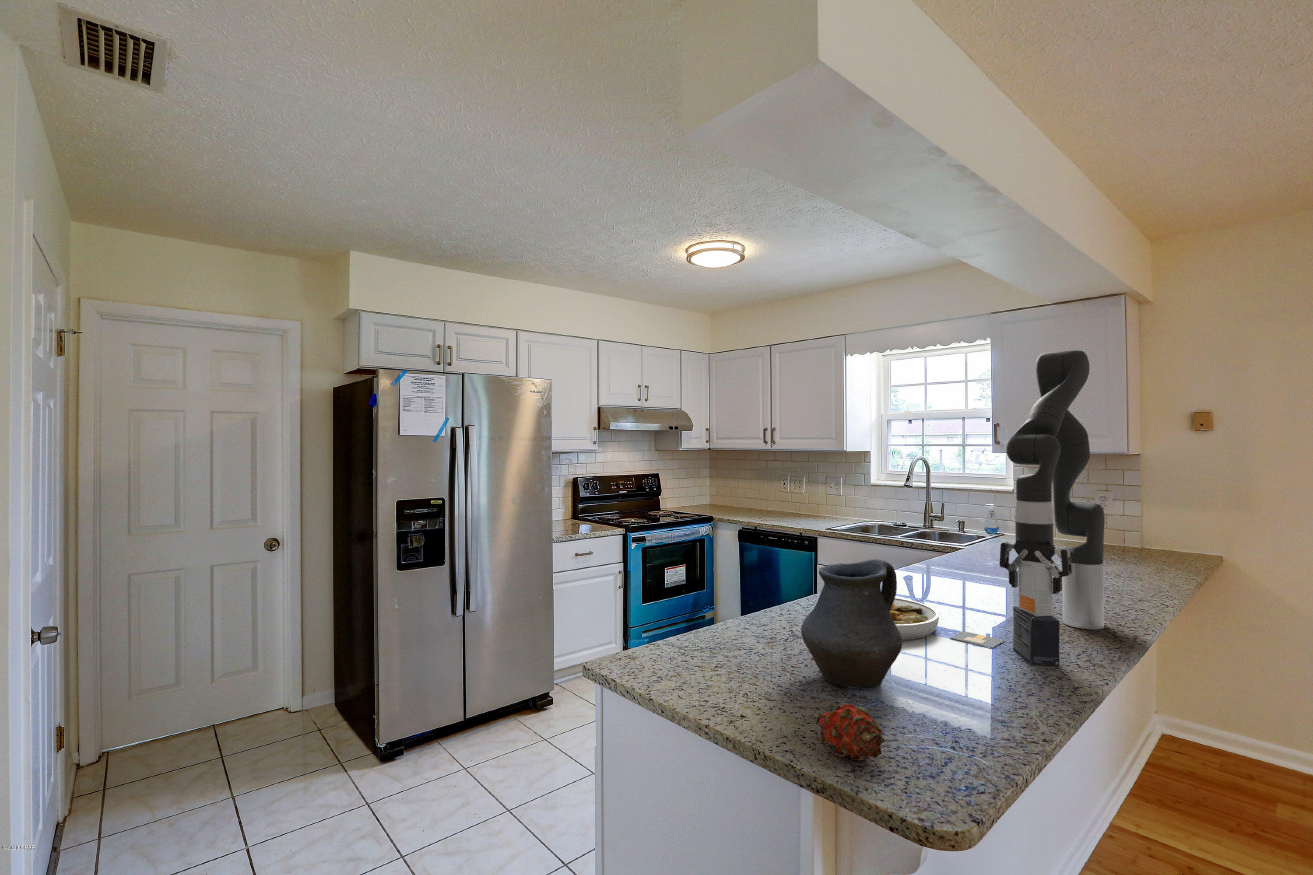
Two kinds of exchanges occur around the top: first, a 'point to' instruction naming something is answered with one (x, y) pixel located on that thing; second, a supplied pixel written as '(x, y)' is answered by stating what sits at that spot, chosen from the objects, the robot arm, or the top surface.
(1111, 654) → the top surface
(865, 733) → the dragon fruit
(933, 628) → the bowl
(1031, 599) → the skincare box
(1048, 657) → the small box
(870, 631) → the pitcher
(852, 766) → the top surface
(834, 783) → the top surface
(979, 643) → the card
